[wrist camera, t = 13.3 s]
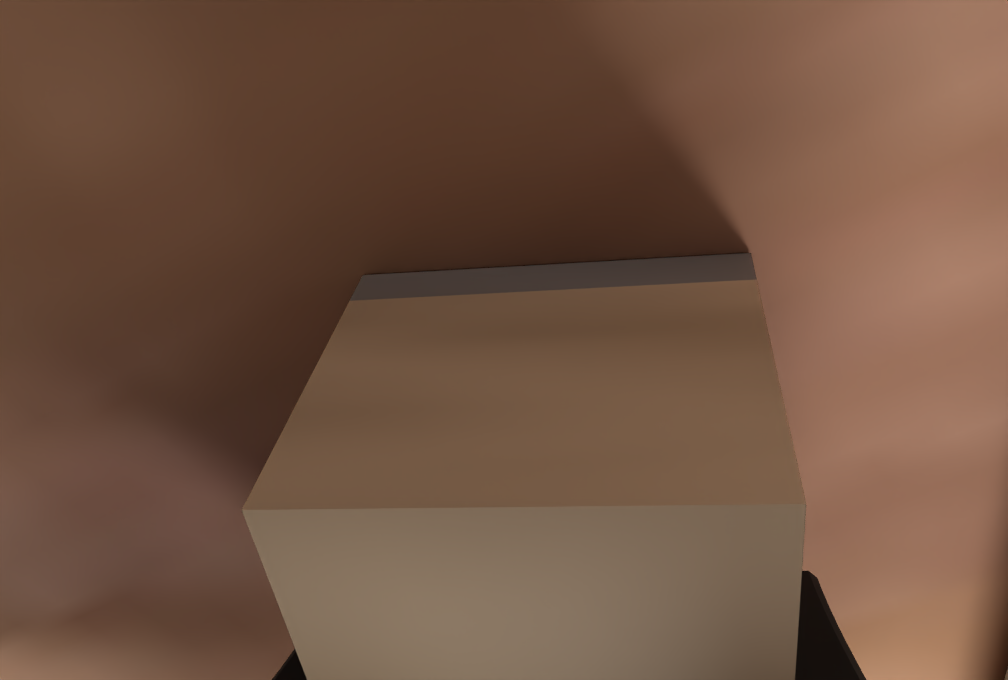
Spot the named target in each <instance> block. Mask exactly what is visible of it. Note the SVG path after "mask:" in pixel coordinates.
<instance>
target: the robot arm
mask: <svg viewBox="0 0 1008 680" xmlns="http://www.w3.org/2000/svg"><path fill="white" fill-rule="evenodd" d="M272 680H307V678H306V676H305V673H304V670H303V668H302V665H301V663H300V660H299V657H298V655H297V652H296V650H295V649H294V651H293V652H292V653H291V655H290V656H289V657H288V659H287V660H286V662H285V663H284V664H283V666H282V667H281V668H280V670H279V671H278V672H277V674H276V675H275V676H274V678H273V679H272ZM795 680H866V678H865V677H864V675H863V673H862V671H861V669H860V667H859V665H858V664H857V662H856V660H855V658H854V656H853V654H852V652H851V650H850V648H849V647H848V645H847V643H846V641H845V639H844V637H843V635H842V633H841V631H840V629H839V627H838V625H837V623H836V620H835V618H834V616H833V614H832V612H831V610H830V608H829V605H828V603H827V601H826V598H825V596H824V594H823V591H822V589H821V587H820V584H819V581H818V579H817V577H815V576H814V575H813V574H812V573H810V572H809V571H802V578H801V593H800V608H799V624H798V639H797V655H796V670H795Z"/></svg>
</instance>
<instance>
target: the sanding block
mask: <svg viewBox="0 0 1008 680" xmlns="http://www.w3.org/2000/svg"><path fill="white" fill-rule="evenodd" d="M242 512H243V515H244V518H245V520H246V523H247V525H248V528H249V531H250V533H251V536H252V538H253V541H254V543H255V546H256V549H257V551H258V554H259V556H260V559H261V562H262V564H263V567H264V569H265V572H266V575H267V577H268V580H269V582H270V585H271V588H272V590H273V593H274V595H275V598H276V600H277V603H278V606H279V608H280V611H281V613H282V616H283V619H284V621H285V624H286V626H287V629H288V632H289V634H290V637H291V639H292V642H293V645H294V647H295V650H296V652H297V655H298V657H299V660H300V663H301V665H302V668H303V670H304V673H305V676H306V678H307V680H795V670H796V655H797V639H798V624H799V608H800V593H801V578H802V562H803V547H804V531H805V516H806V501H805V496H804V492H803V487H802V482H801V478H800V473H799V469H798V464H797V460H796V455H795V451H794V446H793V442H792V437H791V433H790V428H789V424H788V419H787V415H786V410H785V406H784V401H783V397H782V392H781V388H780V383H779V379H778V374H777V369H776V365H775V360H774V356H773V351H772V347H771V342H770V338H769V333H768V329H767V324H766V320H765V315H764V311H763V306H762V302H761V297H760V293H759V288H758V284H757V279H756V275H755V270H754V265H753V261H752V256H751V253H741V254H723V255H706V256H689V257H671V258H654V259H636V260H619V261H601V262H584V263H566V264H549V265H532V266H514V267H497V268H479V269H462V270H444V271H427V272H409V273H392V274H375V275H363V276H362V278H361V280H360V281H359V283H358V285H357V287H356V289H355V291H354V293H353V295H352V297H351V299H350V301H349V303H348V305H347V307H346V309H345V311H344V312H343V314H342V316H341V318H340V320H339V322H338V324H337V326H336V328H335V330H334V332H333V334H332V336H331V338H330V340H329V342H328V343H327V345H326V347H325V349H324V351H323V353H322V355H321V357H320V359H319V361H318V363H317V365H316V367H315V369H314V371H313V373H312V374H311V376H310V378H309V380H308V382H307V384H306V386H305V388H304V390H303V392H302V394H301V396H300V398H299V400H298V402H297V404H296V406H295V407H294V409H293V411H292V413H291V415H290V417H289V419H288V421H287V423H286V425H285V427H284V429H283V431H282V433H281V435H280V437H279V438H278V440H277V442H276V444H275V446H274V448H273V450H272V452H271V454H270V456H269V458H268V460H267V462H266V464H265V466H264V468H263V469H262V471H261V473H260V475H259V477H258V479H257V481H256V483H255V485H254V487H253V489H252V491H251V493H250V495H249V497H248V499H247V500H246V502H245V504H244V506H243V508H242Z"/></svg>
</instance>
